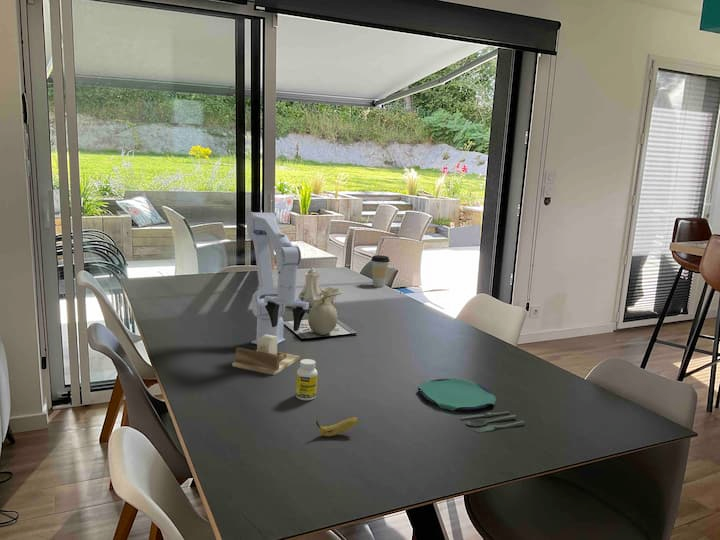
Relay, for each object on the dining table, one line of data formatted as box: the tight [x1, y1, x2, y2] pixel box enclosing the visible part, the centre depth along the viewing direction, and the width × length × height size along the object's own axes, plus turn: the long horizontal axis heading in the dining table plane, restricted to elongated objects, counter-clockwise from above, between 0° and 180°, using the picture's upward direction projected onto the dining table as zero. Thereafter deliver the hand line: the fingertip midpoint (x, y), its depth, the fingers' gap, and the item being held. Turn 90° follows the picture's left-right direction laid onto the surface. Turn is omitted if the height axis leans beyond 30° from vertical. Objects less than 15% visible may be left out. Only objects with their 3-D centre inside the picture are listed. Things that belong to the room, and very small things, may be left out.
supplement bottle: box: [295, 358, 318, 401], centre depth 154 cm, size 5×5×10 cm
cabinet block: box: [256, 334, 278, 355], centre depth 177 cm, size 6×4×7 cm
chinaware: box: [297, 267, 340, 308], centre depth 251 cm, size 28×17×17 cm, turn 179°
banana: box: [315, 416, 359, 437], centre depth 134 cm, size 10×2×4 cm, turn 109°
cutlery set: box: [417, 377, 526, 434], centre depth 156 cm, size 20×30×2 cm, turn 22°
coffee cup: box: [371, 254, 391, 288], centre depth 297 cm, size 9×9×15 cm
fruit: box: [307, 292, 342, 336], centre depth 209 cm, size 10×12×15 cm
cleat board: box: [231, 347, 301, 376], centre depth 178 cm, size 16×14×5 cm
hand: (285, 328), depth 182 cm, fingers open, 7 cm apart
